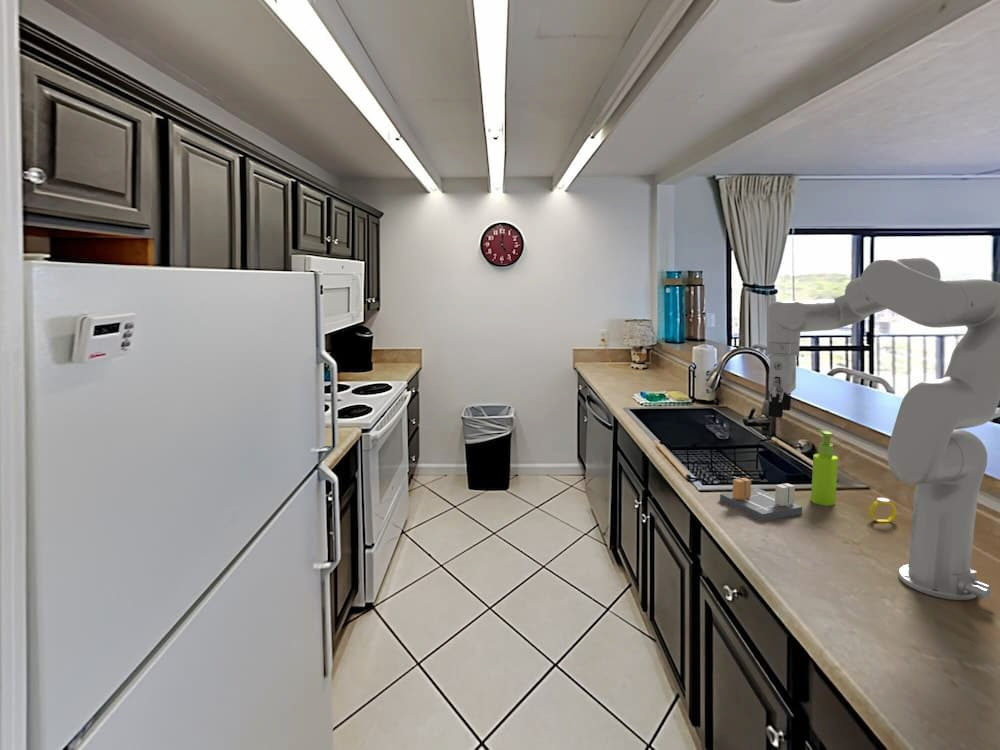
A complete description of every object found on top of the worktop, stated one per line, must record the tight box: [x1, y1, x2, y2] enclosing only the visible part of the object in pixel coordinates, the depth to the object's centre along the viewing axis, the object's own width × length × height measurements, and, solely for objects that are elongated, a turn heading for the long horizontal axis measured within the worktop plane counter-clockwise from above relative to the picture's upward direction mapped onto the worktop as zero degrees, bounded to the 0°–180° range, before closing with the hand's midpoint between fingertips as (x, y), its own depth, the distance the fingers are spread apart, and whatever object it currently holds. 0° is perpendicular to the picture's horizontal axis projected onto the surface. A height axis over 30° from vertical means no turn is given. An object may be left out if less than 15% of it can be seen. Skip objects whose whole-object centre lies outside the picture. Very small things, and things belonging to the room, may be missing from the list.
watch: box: [868, 497, 898, 524], centre depth 141 cm, size 6×3×6 cm, turn 85°
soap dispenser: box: [810, 429, 839, 507], centre depth 154 cm, size 6×7×20 cm
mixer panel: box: [719, 487, 803, 522], centre depth 153 cm, size 16×13×2 cm
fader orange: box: [732, 477, 752, 500], centre depth 154 cm, size 2×4×5 cm, turn 108°
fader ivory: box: [774, 482, 796, 506], centre depth 149 cm, size 2×4×5 cm, turn 108°
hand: (779, 413), depth 147 cm, fingers open, 9 cm apart
